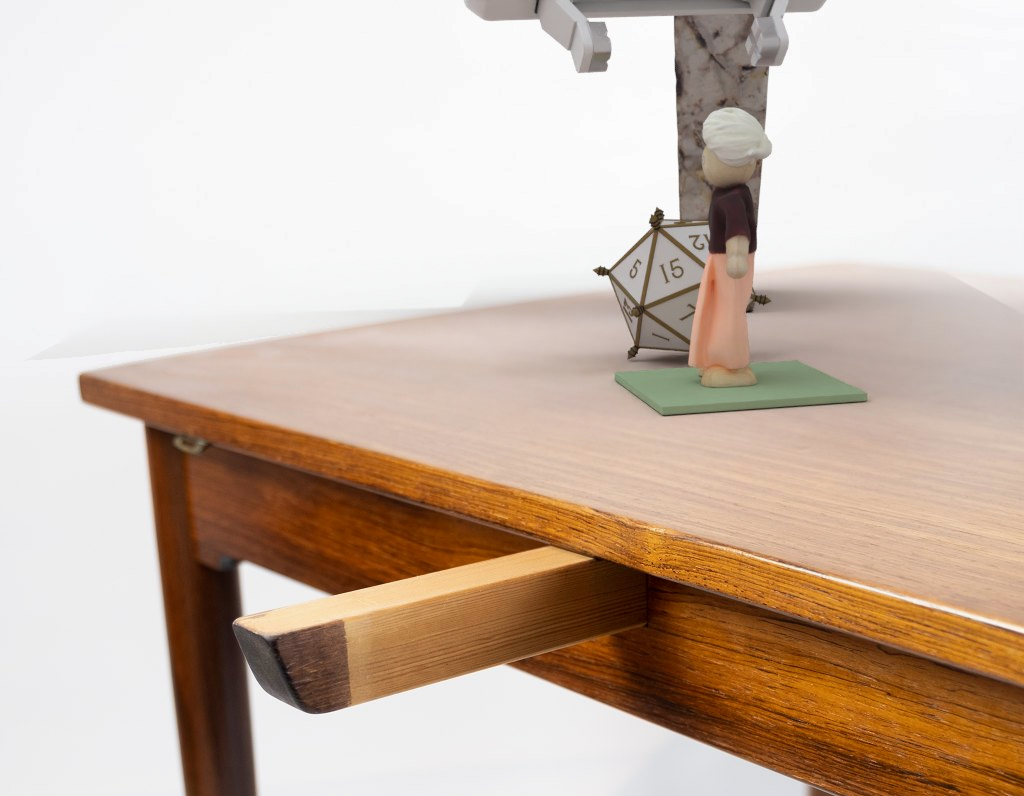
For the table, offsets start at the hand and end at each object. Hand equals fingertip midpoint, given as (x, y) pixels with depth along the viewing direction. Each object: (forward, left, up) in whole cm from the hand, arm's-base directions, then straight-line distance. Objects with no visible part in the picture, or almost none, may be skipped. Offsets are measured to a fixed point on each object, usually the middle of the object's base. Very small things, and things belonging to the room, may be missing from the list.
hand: (684, 59), depth 76 cm
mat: (-1, +7, -15) cm, 17 cm away
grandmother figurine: (0, +7, -15) cm, 17 cm away
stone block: (-10, -26, -15) cm, 32 cm away
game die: (-1, -3, -16) cm, 16 cm away
